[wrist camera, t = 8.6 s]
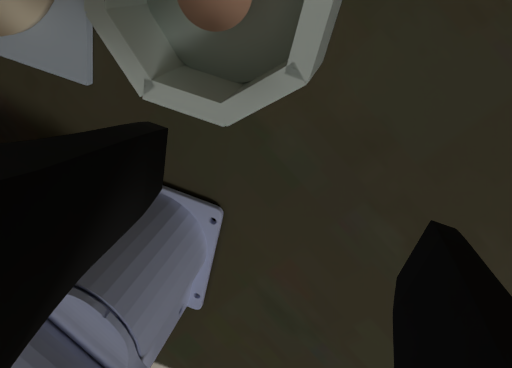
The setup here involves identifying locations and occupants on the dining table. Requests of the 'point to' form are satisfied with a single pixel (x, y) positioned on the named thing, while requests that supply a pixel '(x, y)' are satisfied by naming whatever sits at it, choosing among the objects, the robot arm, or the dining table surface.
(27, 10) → the lid
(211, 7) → the ball
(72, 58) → the mat
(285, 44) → the bowl
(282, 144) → the dining table surface
